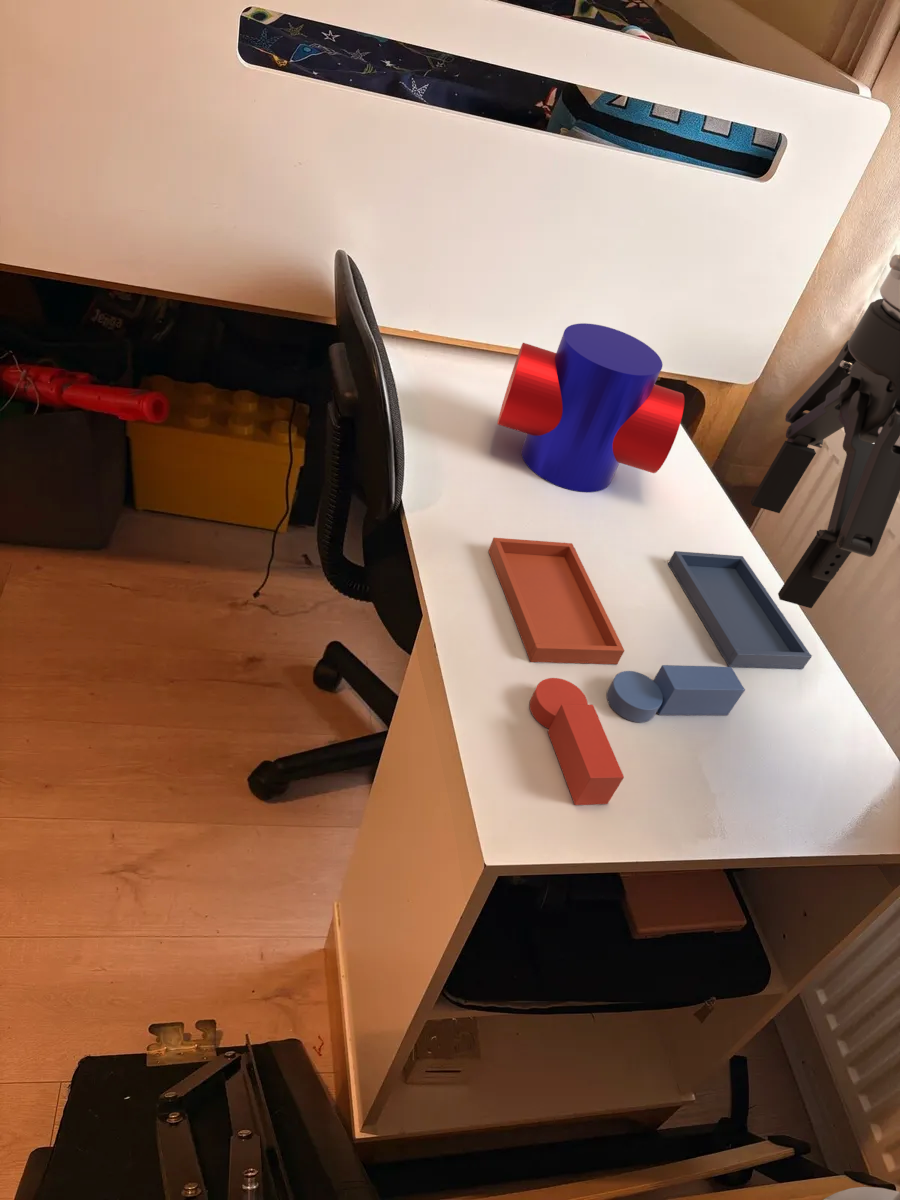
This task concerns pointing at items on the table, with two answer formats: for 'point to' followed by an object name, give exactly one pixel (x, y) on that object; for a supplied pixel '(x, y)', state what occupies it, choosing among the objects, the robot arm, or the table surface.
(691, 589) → the blue tray
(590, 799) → the red spoon
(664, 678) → the blue spoon
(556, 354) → the blue red crossed cylinders
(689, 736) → the table surface
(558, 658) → the red tray
